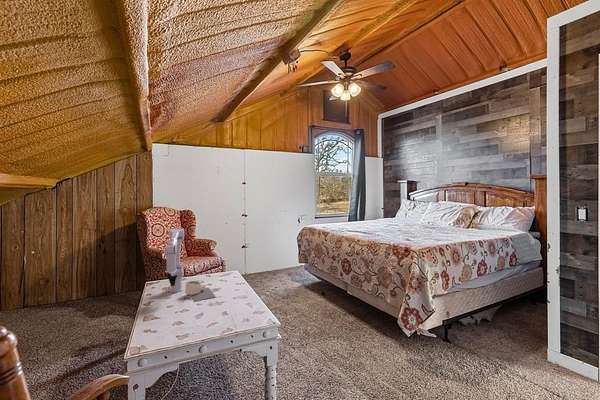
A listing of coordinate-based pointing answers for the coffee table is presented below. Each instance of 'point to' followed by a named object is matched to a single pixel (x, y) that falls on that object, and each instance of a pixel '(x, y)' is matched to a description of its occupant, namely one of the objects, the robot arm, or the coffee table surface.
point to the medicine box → (194, 287)
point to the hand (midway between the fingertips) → (172, 284)
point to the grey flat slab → (203, 295)
